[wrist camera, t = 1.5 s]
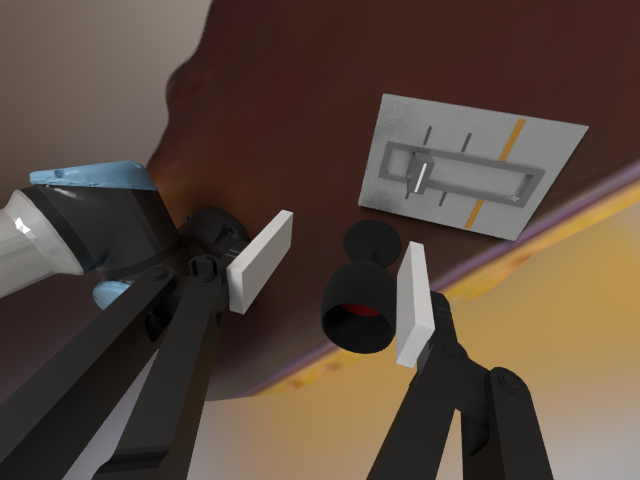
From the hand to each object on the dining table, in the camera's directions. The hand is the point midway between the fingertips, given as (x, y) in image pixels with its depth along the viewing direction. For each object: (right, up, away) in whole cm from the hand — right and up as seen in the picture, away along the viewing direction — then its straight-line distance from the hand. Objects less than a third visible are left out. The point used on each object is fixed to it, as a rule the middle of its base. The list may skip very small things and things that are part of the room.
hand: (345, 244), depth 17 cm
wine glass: (+8, 0, +31) cm, 32 cm away
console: (+18, +11, +21) cm, 29 cm away
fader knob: (+12, +11, +20) cm, 26 cm away
